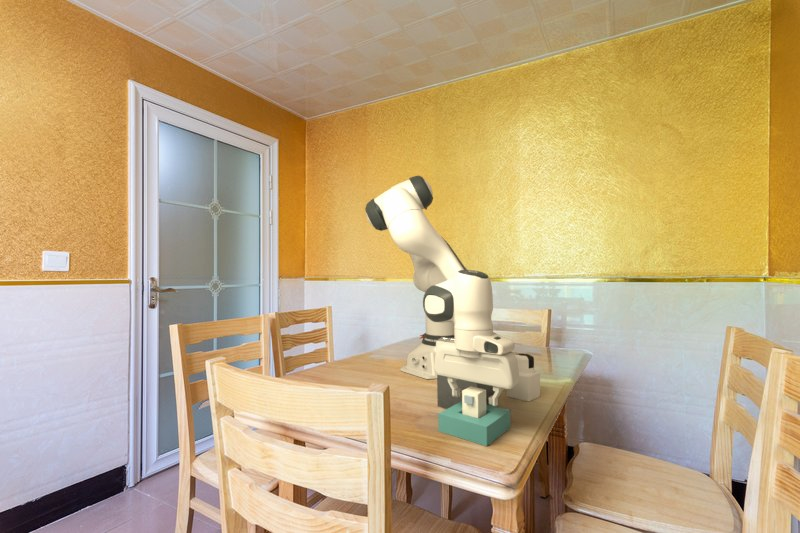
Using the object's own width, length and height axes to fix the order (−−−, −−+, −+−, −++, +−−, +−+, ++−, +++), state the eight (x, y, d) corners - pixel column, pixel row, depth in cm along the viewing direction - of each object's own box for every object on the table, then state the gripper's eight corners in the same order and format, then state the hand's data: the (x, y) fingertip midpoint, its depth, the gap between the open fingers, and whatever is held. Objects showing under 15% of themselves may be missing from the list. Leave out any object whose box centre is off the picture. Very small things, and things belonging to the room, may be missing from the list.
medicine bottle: (518, 390, 114) (517, 351, 114) (540, 396, 109) (540, 354, 109) (505, 396, 109) (505, 354, 109) (529, 402, 104) (528, 358, 104)
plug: (460, 431, 86) (460, 391, 86) (471, 424, 90) (470, 386, 90) (476, 435, 84) (476, 395, 84) (486, 428, 87) (486, 389, 87)
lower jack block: (438, 431, 86) (438, 413, 86) (465, 415, 95) (464, 399, 95) (486, 446, 78) (486, 427, 79) (510, 427, 88) (510, 410, 88)
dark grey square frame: (437, 406, 102) (437, 369, 102) (460, 394, 111) (459, 360, 111) (477, 416, 94) (477, 376, 94) (498, 403, 103) (498, 366, 104)
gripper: (428, 337, 91) (429, 394, 91) (509, 348, 78) (510, 414, 78) (443, 333, 96) (443, 388, 96) (521, 343, 83) (522, 406, 83)
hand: (474, 400), depth 87 cm, fingers open, 8 cm apart
